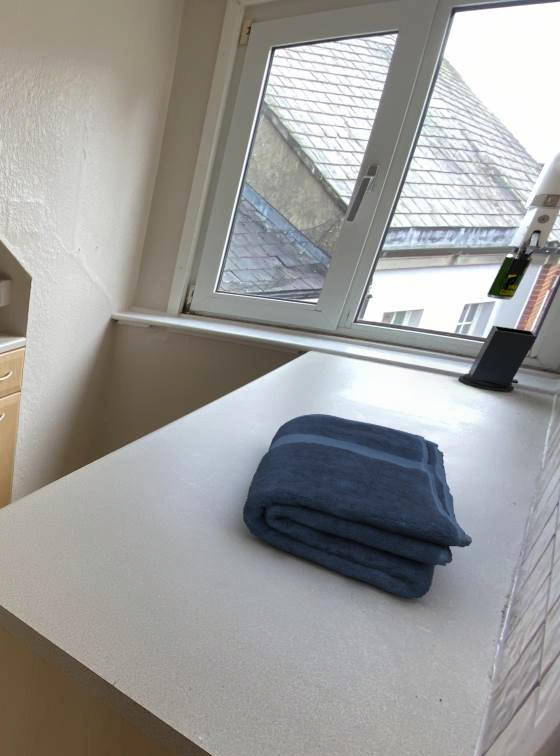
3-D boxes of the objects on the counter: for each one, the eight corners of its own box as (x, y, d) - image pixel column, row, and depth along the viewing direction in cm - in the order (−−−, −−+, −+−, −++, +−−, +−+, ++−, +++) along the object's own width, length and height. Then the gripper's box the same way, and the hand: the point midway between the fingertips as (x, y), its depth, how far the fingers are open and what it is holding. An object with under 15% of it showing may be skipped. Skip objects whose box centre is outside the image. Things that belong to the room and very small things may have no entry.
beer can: (480, 295, 158) (502, 252, 153) (500, 296, 158) (521, 252, 153) (497, 299, 153) (520, 254, 148) (517, 300, 153) (540, 255, 148)
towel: (427, 483, 96) (455, 429, 91) (440, 615, 65) (484, 545, 61) (273, 441, 109) (291, 393, 104) (225, 536, 78) (248, 474, 74)
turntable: (507, 384, 149) (508, 381, 149) (517, 395, 141) (519, 392, 141) (455, 375, 155) (456, 372, 154) (461, 385, 147) (463, 382, 146)
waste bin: (462, 373, 154) (487, 324, 147) (512, 382, 148) (540, 331, 142) (464, 381, 147) (491, 330, 141) (516, 391, 141) (547, 338, 135)
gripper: (576, 203, 136) (537, 278, 144) (556, 203, 149) (522, 272, 157) (535, 202, 140) (499, 275, 148) (519, 201, 153) (487, 269, 161)
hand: (511, 272), depth 153 cm, fingers closed on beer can, 5 cm apart
